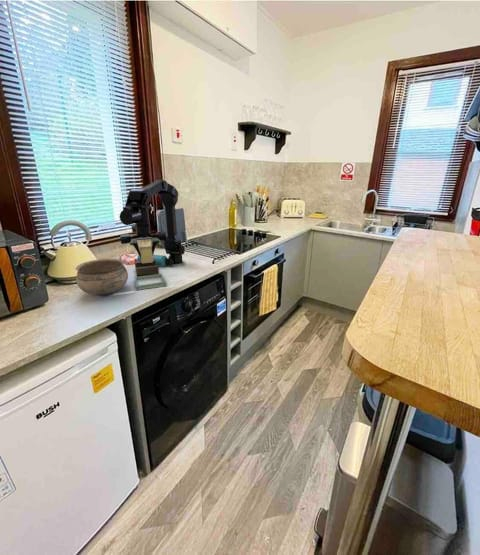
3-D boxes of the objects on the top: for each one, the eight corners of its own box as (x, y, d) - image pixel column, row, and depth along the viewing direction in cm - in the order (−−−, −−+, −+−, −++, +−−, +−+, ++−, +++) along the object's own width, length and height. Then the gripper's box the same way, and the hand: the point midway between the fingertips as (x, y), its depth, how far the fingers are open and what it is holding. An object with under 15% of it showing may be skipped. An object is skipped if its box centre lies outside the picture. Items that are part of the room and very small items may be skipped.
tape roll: (141, 259, 122) (139, 244, 119) (151, 258, 124) (150, 244, 121) (142, 266, 117) (140, 250, 113) (153, 264, 118) (151, 249, 115)
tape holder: (135, 270, 139) (134, 261, 137) (156, 268, 142) (155, 258, 141) (137, 280, 127) (136, 270, 125) (159, 277, 130) (158, 267, 129)
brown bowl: (66, 294, 112) (59, 266, 108) (108, 279, 127) (103, 254, 123) (103, 309, 100) (97, 278, 96) (144, 291, 115) (141, 264, 111)
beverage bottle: (133, 262, 142) (168, 265, 137) (136, 250, 144) (171, 253, 139) (139, 267, 148) (173, 270, 143) (142, 255, 150) (176, 258, 145)
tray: (162, 277, 130) (161, 273, 129) (166, 286, 120) (165, 282, 119) (135, 281, 125) (134, 277, 124) (136, 290, 116) (136, 286, 115)
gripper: (162, 216, 124) (165, 250, 130) (117, 219, 117) (123, 254, 123) (166, 220, 114) (169, 256, 120) (117, 223, 108) (123, 261, 113)
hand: (146, 256), depth 119 cm, fingers closed on tape roll, 4 cm apart
